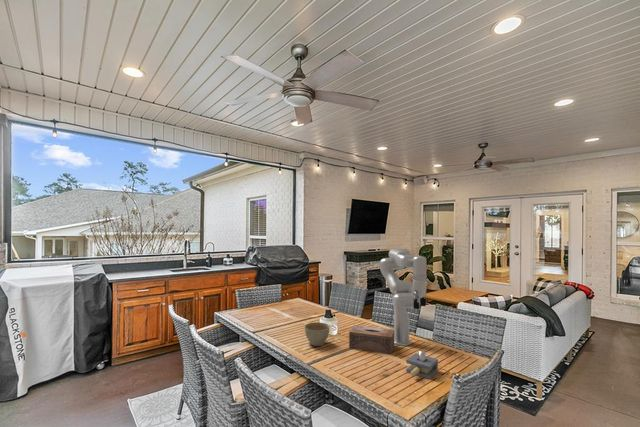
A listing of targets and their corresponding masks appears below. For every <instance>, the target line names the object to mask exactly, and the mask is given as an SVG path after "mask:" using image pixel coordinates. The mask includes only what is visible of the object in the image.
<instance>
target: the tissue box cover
mask: <svg viewBox="0 0 640 427" xmlns="http://www.w3.org/2000/svg"><path fill="white" fill-rule="evenodd" d="M348 347H349V348H350V349H357V350H363V351H370V352H377V353H383V354H390V355H391V354H393V351H394V348H395V344H394V329H392V328H391V329H390V328H382V327H374V326H366V325H358V324H354V325H353V326H352V328H351V329H350V330H349V332H348ZM349 348H348V349H349Z"/></svg>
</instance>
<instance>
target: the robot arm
mask: <svg viewBox="0 0 640 427" xmlns="http://www.w3.org/2000/svg"><path fill="white" fill-rule="evenodd" d="M404 268H412V280H413V281H412V282H411V281H410V280H401V279H399V276H398V274H397V273H396V272H394V271H393V270H395V271H396V270H399V271H401V270H403V269H404ZM379 269H380V272H381V275H382V276H383V277H384V279H385V280H386V283H387V285H388V288H389V290H390V292H391V294H393V295H392V304H393V305H392V306H393V330H394V345H397V346H402V347H405V346H406V347H407V346H410V345H412V340H411V339H410V315H409V312H408V311H407V309H414V310H420V307H421V306H422V307H426V306H427V304H426V303H427V300H426V299H427V297H426V296H427V283H426V282H427V258H426V257H425V256H422V255H419V254H411V251H410V250H409V249H407V248H392V249H390V250H389V251H388V257H384V258H382V259H381V260H380V261H379Z"/></svg>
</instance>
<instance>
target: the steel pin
mask: <svg viewBox="0 0 640 427" xmlns="http://www.w3.org/2000/svg"><path fill="white" fill-rule="evenodd" d="M418 354H419V361H422V362H425V356H426V351H424V350H419V352H418Z"/></svg>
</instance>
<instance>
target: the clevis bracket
mask: <svg viewBox="0 0 640 427" xmlns="http://www.w3.org/2000/svg"><path fill="white" fill-rule="evenodd" d="M406 364H409V365H410V366H408V367H406V371H405V372H406V373H409V374H410V375H411V376H412V377H415V376H418V377H422V378H425V379H428V380H431V379H432V378H433V377H434V376H435V374H437V372H438V371H439V367H438V366H439V359H438V358H435V357H431V356H427V355H425V362H422V361H419V353H417V352H415V353H414V354H412V355H411V356H410V357H408V358H407V359H406Z"/></svg>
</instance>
